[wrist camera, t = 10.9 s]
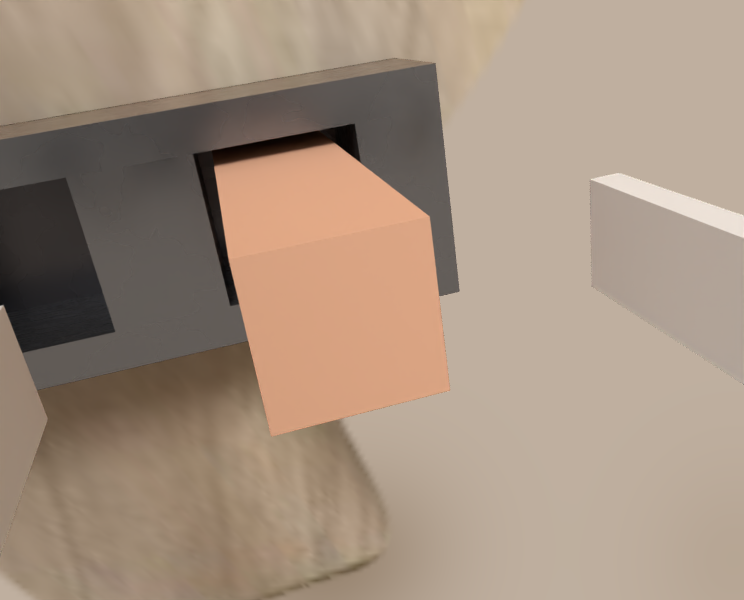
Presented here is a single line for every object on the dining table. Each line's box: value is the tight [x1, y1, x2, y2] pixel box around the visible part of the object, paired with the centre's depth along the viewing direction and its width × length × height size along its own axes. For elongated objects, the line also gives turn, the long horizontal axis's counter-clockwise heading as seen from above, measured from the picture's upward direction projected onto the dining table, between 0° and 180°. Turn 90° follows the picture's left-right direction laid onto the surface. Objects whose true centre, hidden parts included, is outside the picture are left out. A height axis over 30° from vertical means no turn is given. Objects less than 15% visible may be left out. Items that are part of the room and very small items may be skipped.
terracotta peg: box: [212, 130, 450, 437], centre depth 21 cm, size 4×4×14 cm
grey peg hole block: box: [0, 58, 459, 390], centre depth 24 cm, size 20×8×5 cm, turn 99°
